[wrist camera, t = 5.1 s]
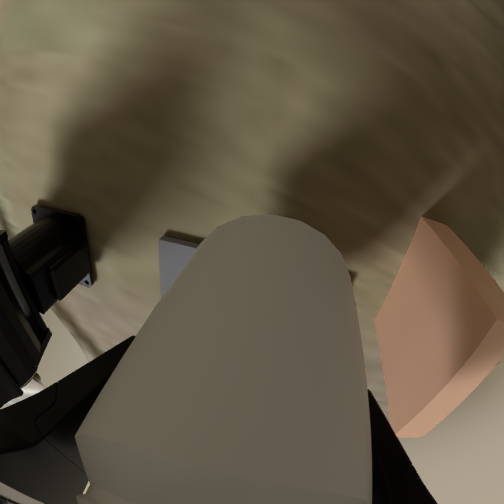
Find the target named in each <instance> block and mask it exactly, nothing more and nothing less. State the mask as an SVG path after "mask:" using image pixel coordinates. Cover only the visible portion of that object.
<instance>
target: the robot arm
mask: <svg viewBox="0 0 504 504" xmlns="http://www.w3.org/2000/svg"><path fill="white" fill-rule="evenodd" d="M31 211H32V217H33V223H34V224H32V225H31V226H29V227H27V228H26V229H24V230H23V231H21V232H20V233H18V234H17V235H15V236H14V237H12V238H11V239H9V240H8V235H7V232H6V230H0V408H1V407H2V406H3V405H4V404H6V403H7V402H9V401H10V400H12V399H14V398H17V397H19V396H22V395H23V391H22V390H21V388H23V387H24V386H26V385H27V384H28V383H29V382H30V381H31V379H32V378H33V376H34V375H35V373H36V372H37V368H38V365H39V362H40V360H41V357H42V355H43V353H44V351H45V349H46V347H47V344H48V342H49V340H50V338H51V336H52V333H51V331H50V330H49V328H47V326H46V324H45V322H44V321H43V319H42V317H41V315H40V313H42V314H45V312H46V311H47V310H48V309H49V308H50V307H51V306H52V305H53V304H54V303H55V302H56V301H57V300H60V301H61V300H62V299H63V298H64V297H65V296H66V295H67V294H68V293H69V292H70V291H71V290H72V289H73V288H74V287H75V286H76V285H77V284H81V285H83V286H86V287H91V286H92V285H93V284H94V280H93V275H92V269H91V264H90V258H89V251H88V245H87V237H86V230H85V221H84V218H83V217H82V216H81V215H80V214H76V213H71V212H67V211H63V210H58V209H54V208H50V207H46V206H41V205H34V206H33V207H32V209H31ZM78 221H79V222H78ZM39 312H40V313H39ZM135 337H136V336H131V337H129V338H128V339H126V340H124V341H123V342H121V343H120V344H118V345H116V346H115V347H113V348H111V349H110V350H108V351H107V352H105V353H103V354H102V355H100V356H98V357H97V358H95V359H94V360H92V361H90V362H89V363H87V364H85V365H84V366H82V367H81V368H79V369H77V370H76V371H74V372H72V373H71V374H69V375H68V376H66V377H64V378H63V379H61V380H59V381H58V383H57V382H56V383H54V384H53V385H51V386H49V387H48V388H46V389H44V390H42V391H40V392H39V393H37V394H35V395H33V396H30V397H28V398H26V399H24V400H22V401H19V402H17V403H15V404H13V405H11V406H9V407H6V408H3V409H0V504H78V502H77V500H76V496H77V495H81V494H83V491H84V490H85V487H86V485H87V483H88V481H89V480H88V477H87V474H86V471H85V468H84V465H83V462H82V459H81V456H80V453H79V450H78V446H77V443H76V439H75V435H76V433H77V431H78V430H79V428H80V426H81V425H82V423H83V421H84V419H85V418H86V416H87V414H88V412H89V411H90V409H91V407H92V406H93V404H94V402H95V401H96V399H97V397H98V396H99V394H100V392H101V391H102V389H103V388H104V386H105V384H106V383H107V381H108V379H109V378H110V376H111V375H112V373H113V371H114V370H115V368H116V367H117V365H118V363H119V362H120V360H121V359H122V357H123V356H124V354H125V352H126V351H127V349H128V348H129V346H130V345H131V343H132V342H133V340H134V339H135ZM367 391H368V401H369V414H370V428H371V449H372V504H437V502H436V501H435V499H434V498H433V497H432V495H431V494H430V492H429V491H428V489H427V488H426V486H425V485H424V483H423V482H422V480H421V478H420V477H419V475H418V473H417V471H416V470H415V468H414V466H413V465H412V463H411V461H410V459H409V457H408V456H407V454H406V452H405V450H404V449H403V446H402V445H401V443H400V441H399V440H398V438H397V436H396V434H395V432H394V431H393V429H392V427H391V425H390V424H389V422H388V420H387V418H386V417H385V415H384V413H383V412H382V410H381V408H380V406H379V405H378V403H377V401H376V400H375V398H374V396H373V395H372V393H371V391H370V390H368V389H367Z"/></svg>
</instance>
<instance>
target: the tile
mask: <svg viewBox="0 0 504 504" xmlns="http://www.w3.org/2000/svg"><path fill="white" fill-rule="evenodd" d="M374 324H375V329H376V334H377V339H378V344H379V349H380V355H381V361H382V367H383V373H384V379H385V386H386V393H387V401H388V409H389V417H390V425H391V427H392V429H393V431H394V432H395V434H396V436H397V438H399V437H400V438H401V437H422V436H424V435H425V434H426V433H428V432H429V431H430V430H431V429H432V428H433V427H435V426H436V425H437V424H438V423H439V422H441V421H442V420H443V419H444V418H445V417H446V416H447V415H448V414H449V413H450V412H452V411H453V410H454V409H455V408H456V407H457V406H458V405H459V404H460V403H461V402H462V401H463V400H464V399H465V398H466V397H467V396H468V395H469V394H470V393H471V392H472V391H473V390H474V389H475V388H476V387H477V386H478V385H479V383H480V382H481V381H482V380H483V379H484V378H485V377H486V376H487V374H488V373H489V372H490V371H491V370H492V369H493V368H494V366H495V365H496V364H497V363H498V361H499V360H500V359H501V358H502V356H503V355H504V292H503V291H502V290H501V288H500V287H499V285H498V284H497V283H496V282H495V280H494V279H493V278H492V276H491V275H490V274H489V273H488V271H487V270H486V269H485V268H484V266H483V265H482V264H481V263H480V261H479V260H478V259H477V258H476V257H475V255H474V254H473V253H472V252H471V251H470V250H469V248H468V247H467V246H466V245H465V244H464V243H463V242H462V241H461V240H460V238H459V237H458V236H457V235H456V234H455V233H454V232H453V231H452V230H451V229H450V228H449V227H448V226H447V225H445V224H442V223H440V222H437V221H434V220H431V219H428V218H425V217H422V216H421V218H420V220H419V223H418V226H417V228H416V231H415V233H414V236H413V239H412V241H411V243H410V246H409V248H408V251H407V253H406V256H405V258H404V260H403V262H402V265H401V267H400V269H399V272H398V274H397V276H396V278H395V280H394V282H393V285H392V287H391V289H390V291H389V293H388V295H387V297H386V299H385V301H384V303H383V305H382V307H381V309H380V311H379V313H378V315H377V317H376V319H375V320H374Z"/></svg>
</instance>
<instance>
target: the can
mask: <svg viewBox="0 0 504 504" xmlns="http://www.w3.org/2000/svg"><path fill="white" fill-rule="evenodd" d="M75 439H76V443H77V446H78V450H79V453H80V456H81V459H82V462H83V465H84V468H85V471H86V474H87V477H88V480H89V482H90V486H89V488H88V490H87V492H86V494H81V495H77V496H76V500H77V502H78V504H372V449H371V428H370V414H369V401H368V391H367V381H366V372H365V364H364V356H363V348H362V341H361V335H360V328H359V322H358V316H357V310H356V304H355V298H354V293H353V288H352V282H351V277H350V274H349V272H348V269H347V266H346V263H345V261H344V258H343V255H342V254H341V253H340V252H339V251H338V249H337V248H336V247H335V246H334V245H333V244H332V242H331V241H330V240H329V239H328V238H327V237H326V236H325V235H324V234H322V233H321V232H319V231H317V230H316V229H314V228H312V227H310V226H309V225H307V224H305V223H303V222H302V221H300V220H295V219H291V218H287V217H282V216H278V215H273V214H265V215H253V216H242V217H239V218H237V219H235V220H232V221H230V222H228V223H225V224H223V225H221V226H219V227H217V228H216V229H215V230H214V231H213V232H212V233H211V234H210V235H208V236H207V237H206V238H205V239H204V240H203V241H202V242H201V243H200V244H199V246H198V247H197V249H196V250H195V251H194V253H193V254H192V256H191V257H190V258H189V260H188V261H187V262H186V264H185V265H184V267H183V268H182V270H181V271H180V272H179V274H178V275H177V277H176V278H175V279H174V281H173V282H172V284H171V285H170V287H169V288H168V290H167V291H166V292H165V294H164V295H163V297H162V298H161V300H160V301H159V303H158V304H157V306H156V307H155V308H154V310H153V311H152V313H151V314H150V316H149V317H148V319H147V320H146V322H145V323H144V325H143V326H142V328H141V329H140V331H139V332H138V334H137V335H136V337H135V339H134V340H133V342H132V343H131V345H130V346H129V348H128V349H127V351H126V352H125V354H124V356H123V357H122V359H121V360H120V362H119V363H118V365H117V367H116V368H115V370H114V371H113V373H112V375H111V376H110V378H109V379H108V381H107V383H106V384H105V386H104V388H103V389H102V391H101V392H100V394H99V396H98V397H97V399H96V401H95V402H94V404H93V406H92V407H91V409H90V411H89V412H88V414H87V416H86V418H85V419H84V421H83V423H82V425H81V426H80V428H79V430H78V431H77V433H76V435H75Z"/></svg>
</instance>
